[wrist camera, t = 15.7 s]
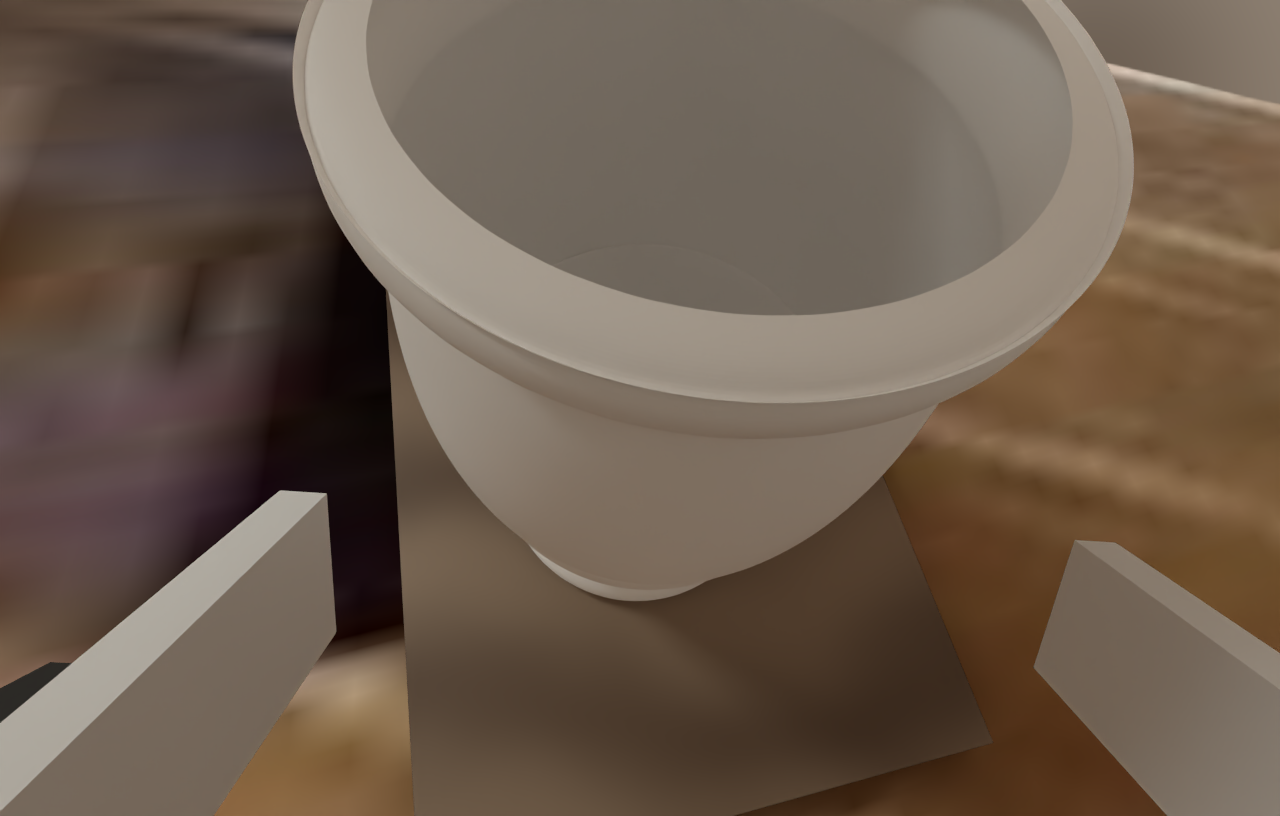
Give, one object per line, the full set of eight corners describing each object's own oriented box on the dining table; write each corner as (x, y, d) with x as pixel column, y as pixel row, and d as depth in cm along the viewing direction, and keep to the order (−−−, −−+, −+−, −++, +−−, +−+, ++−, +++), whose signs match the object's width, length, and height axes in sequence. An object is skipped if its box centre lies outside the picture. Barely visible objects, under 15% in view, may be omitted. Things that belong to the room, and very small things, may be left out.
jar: (537, 310, 24) (482, -229, 10) (806, 378, 23) (1103, -92, 10) (424, 588, 19) (52, 235, 6) (762, 681, 18) (1231, 541, 5)
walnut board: (392, 286, 25) (384, 266, 24) (770, 241, 28) (777, 222, 27) (429, 893, 17) (419, 904, 15) (970, 742, 19) (993, 742, 18)
